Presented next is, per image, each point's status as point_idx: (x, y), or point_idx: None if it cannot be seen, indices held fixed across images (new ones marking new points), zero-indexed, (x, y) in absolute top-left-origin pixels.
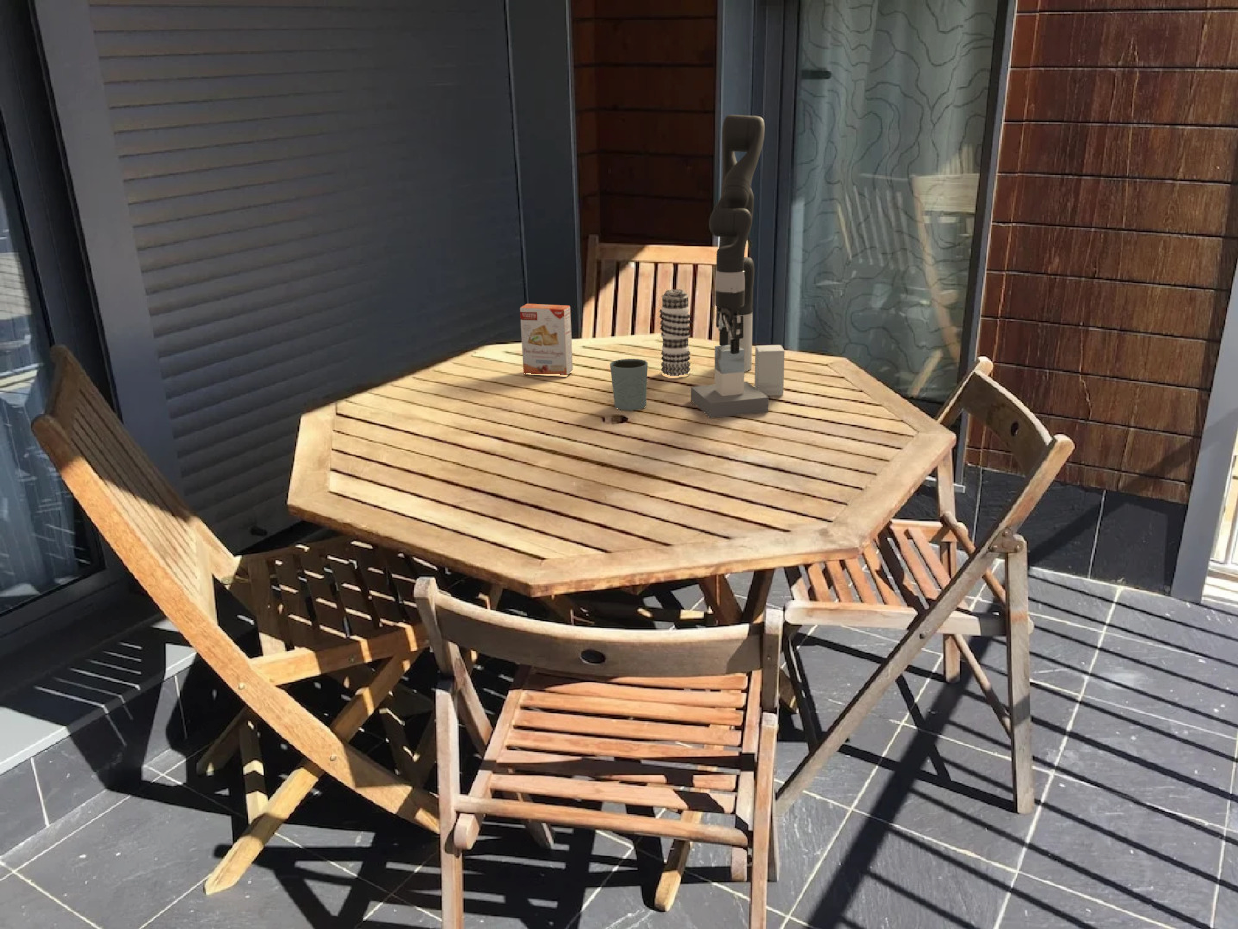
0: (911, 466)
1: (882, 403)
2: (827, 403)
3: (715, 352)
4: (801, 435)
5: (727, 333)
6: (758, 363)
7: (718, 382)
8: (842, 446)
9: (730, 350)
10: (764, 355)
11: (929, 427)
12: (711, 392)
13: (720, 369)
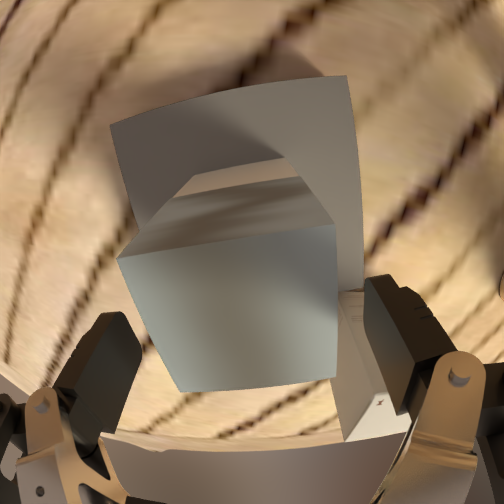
0: (4, 372)
1: (230, 441)
2: (240, 396)
3: (302, 207)
4: (44, 310)
5: (392, 399)
6: (361, 360)
7: (236, 174)
8: (24, 343)
9: (107, 320)
10: (361, 396)
11: (124, 439)
12: (250, 139)
13: (190, 198)
